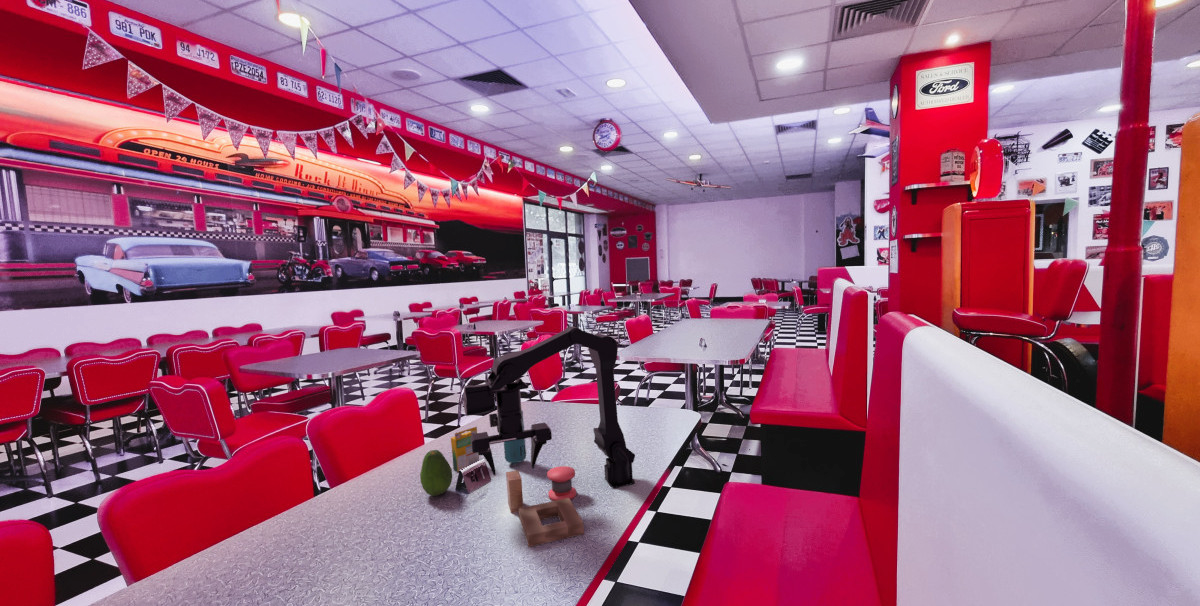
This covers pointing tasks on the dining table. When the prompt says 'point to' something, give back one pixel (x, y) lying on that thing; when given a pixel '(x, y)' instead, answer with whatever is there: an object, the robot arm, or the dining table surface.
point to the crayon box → (463, 449)
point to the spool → (561, 483)
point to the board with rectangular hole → (555, 531)
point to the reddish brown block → (514, 491)
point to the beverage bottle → (515, 449)
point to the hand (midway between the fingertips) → (513, 471)
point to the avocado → (435, 473)
